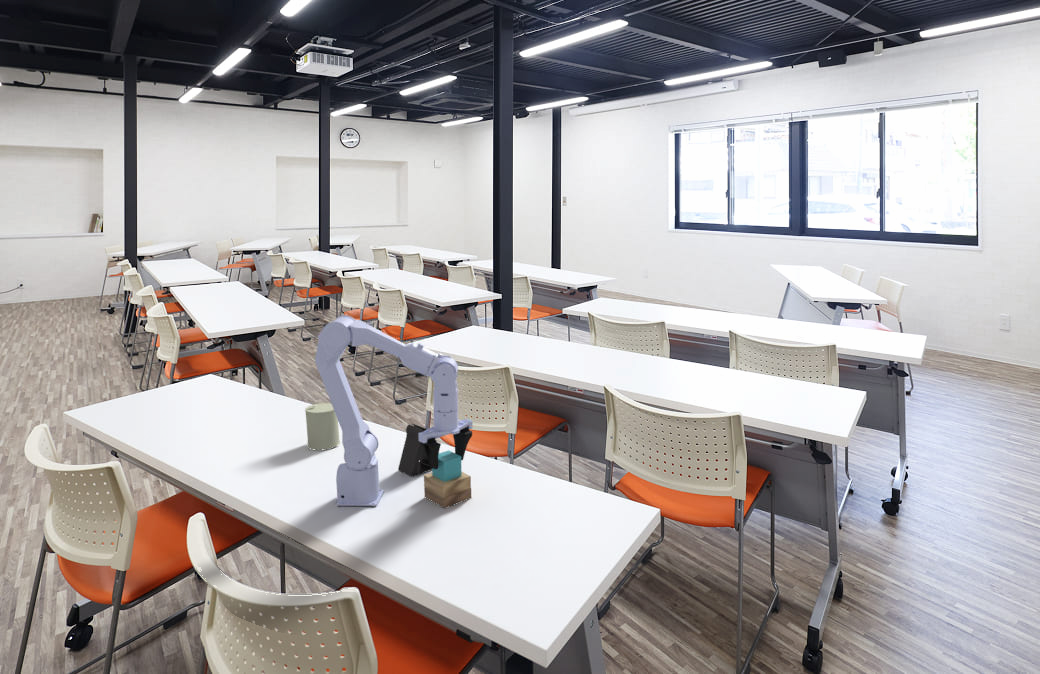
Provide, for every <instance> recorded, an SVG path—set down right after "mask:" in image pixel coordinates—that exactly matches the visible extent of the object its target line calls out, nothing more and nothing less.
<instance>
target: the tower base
mask: <svg viewBox="0 0 1040 674" xmlns="http://www.w3.org/2000/svg"><path fill="white" fill-rule="evenodd" d="M423 489H424V498H425V497H426V498H425V499H427V498H428V499H430V500H432V501H433V503H434V502H435V503H434V504H436V503H437V504H439V505H440V506H439V505H438V506H439V507H441V506H442V507H441V508H443V507H444V508H443V509H447V508H446V507H448V506H450V507H452V506H451V505H453V506H455V505H457V504H456V503H458V504H460V503H462V502H464V500H465V501H466V499H467V500H469V498H470V499H472V487H471V488H469V489H466V490H464V491H461V492H458V493H456V494H453V495H450V496H447V497H445V498H443V497H441V496H439V495H437V494H436V493H434V492H432V491H430V490H429V489H427V488H425V487H424V488H423ZM428 499H427V500H428ZM430 500H429V501H430ZM432 501H431V502H432ZM461 501H462V502H461ZM459 502H460V503H459ZM437 504H436V505H437ZM454 504H455V505H454ZM448 508H449V507H448Z"/></svg>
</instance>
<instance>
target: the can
mask: <svg viewBox="0 0 1040 674" xmlns="http://www.w3.org/2000/svg"><path fill="white" fill-rule="evenodd" d="M304 411H305V419H306V420H305V421H306V435H307V445H308V447H309V448H311V449H315V450H322V449H329V448H332V447H335V446H337V445H338V444H339V443H340V444H341V441H340V429H339V421H338V419H337V416H336V414H335V411H334V409H333V406H332V404H331V402H327V403H326V402H323V403H321V402H320V403H314V404H312V405H311V404H310V405H308V406H307V407H305V409H304ZM308 447H307V448H308ZM337 447H338V446H337ZM309 448H308V449H309ZM311 449H310V450H311ZM315 450H314V451H315ZM329 450H330V449H329Z"/></svg>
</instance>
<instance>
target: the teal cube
mask: <svg viewBox="0 0 1040 674" xmlns="http://www.w3.org/2000/svg"><path fill="white" fill-rule="evenodd" d="M462 472H463V471H462V460H461V456H459V455H457V454H455V452H453V451H451V450H445V451H442V452H439V455H438V469H436V470H435V469H433V468H432V470H431V473H432V475H433V476H434V477H436V478H438V479H440V480H442V481H444V482H446V481H449V480H452V479H454V478H457V477H460V476H462Z"/></svg>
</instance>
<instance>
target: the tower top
mask: <svg viewBox="0 0 1040 674" xmlns="http://www.w3.org/2000/svg"><path fill="white" fill-rule="evenodd" d="M471 481H472V479H471V475H469V474H468V473H465V472H463V471H462V476H460V477H457V478H454V479H452V480H449V481H446V482H444V481H442V480H440V479H438V478H436V477H434V476H433V475H432V472H430V473H426V474H424V475H423V486H424V487H425V488H427V489H429V490H430V491H432V492H434V493H436V494H437V495H439V496H441V497H443V498H445V497H447V496H450V495H453V494H456V493H458V492H461V491H464V490H466V489H469V488H471V489H472V483H471Z"/></svg>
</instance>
